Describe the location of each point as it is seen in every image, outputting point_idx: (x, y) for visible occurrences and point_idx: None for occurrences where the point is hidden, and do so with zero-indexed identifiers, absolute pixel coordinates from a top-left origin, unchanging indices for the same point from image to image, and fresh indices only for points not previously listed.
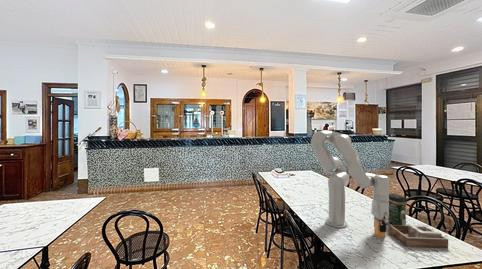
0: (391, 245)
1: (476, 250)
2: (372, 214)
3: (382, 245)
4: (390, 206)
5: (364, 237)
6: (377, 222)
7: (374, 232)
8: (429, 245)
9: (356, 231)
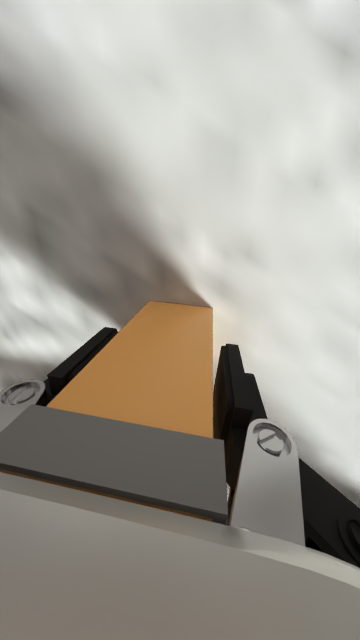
0: (27, 312)
1: None
2: (313, 574)
3: (5, 244)
4: None
5: (125, 144)
6: (101, 384)
7: (208, 311)
8: None
9: (287, 112)
